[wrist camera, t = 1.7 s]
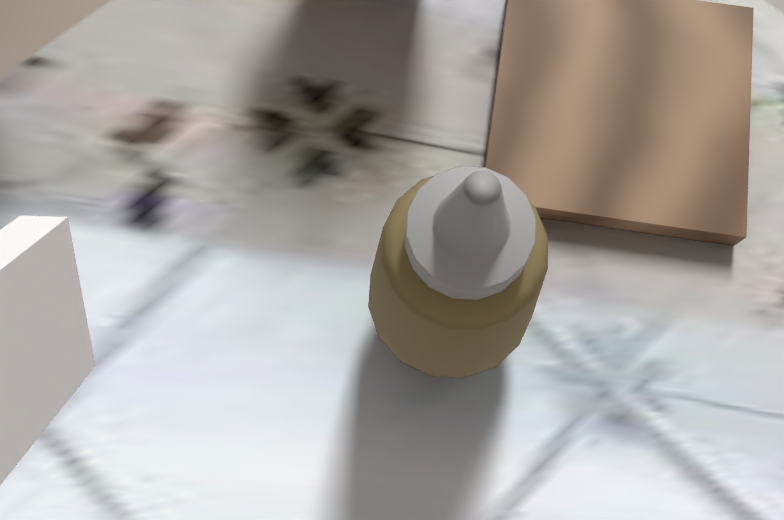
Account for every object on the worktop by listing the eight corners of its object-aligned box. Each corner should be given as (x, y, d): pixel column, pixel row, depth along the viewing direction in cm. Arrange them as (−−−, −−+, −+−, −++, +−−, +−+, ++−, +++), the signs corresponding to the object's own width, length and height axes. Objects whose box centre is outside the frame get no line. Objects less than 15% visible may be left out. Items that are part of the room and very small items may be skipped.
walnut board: (478, 208, 42) (481, 199, 40) (507, -8, 45) (511, -24, 44) (733, 245, 41) (746, 237, 39) (742, 22, 45) (753, 7, 43)
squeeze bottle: (534, 375, 39) (642, 299, 22) (380, 397, 39) (366, 336, 22) (507, 229, 41) (586, 54, 24) (361, 248, 41) (335, 86, 24)
